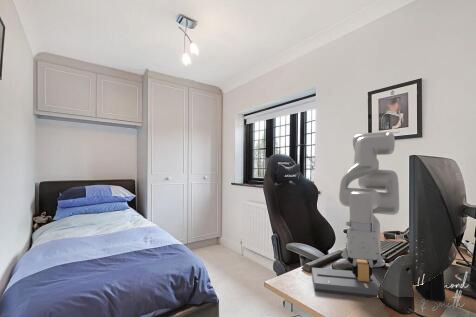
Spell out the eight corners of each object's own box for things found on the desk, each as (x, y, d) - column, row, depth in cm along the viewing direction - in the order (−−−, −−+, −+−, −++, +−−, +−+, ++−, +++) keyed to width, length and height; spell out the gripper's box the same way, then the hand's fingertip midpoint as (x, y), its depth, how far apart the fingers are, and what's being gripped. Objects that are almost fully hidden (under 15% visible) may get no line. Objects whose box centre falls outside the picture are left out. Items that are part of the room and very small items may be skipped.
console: (311, 274, 95) (311, 267, 95) (371, 280, 90) (371, 272, 90) (314, 291, 83) (314, 282, 83) (383, 298, 78) (383, 289, 78)
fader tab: (355, 280, 87) (355, 259, 87) (365, 281, 87) (365, 259, 87) (358, 286, 83) (358, 263, 83) (369, 287, 83) (368, 264, 83)
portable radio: (449, 303, 75) (447, 225, 75) (427, 301, 76) (426, 224, 76) (433, 290, 83) (432, 219, 83) (414, 288, 84) (413, 218, 84)
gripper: (338, 227, 83) (339, 279, 83) (391, 230, 80) (391, 284, 79) (335, 221, 91) (335, 269, 91) (382, 224, 87) (383, 273, 87)
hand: (362, 275), depth 85 cm, fingers closed on fader tab, 3 cm apart
